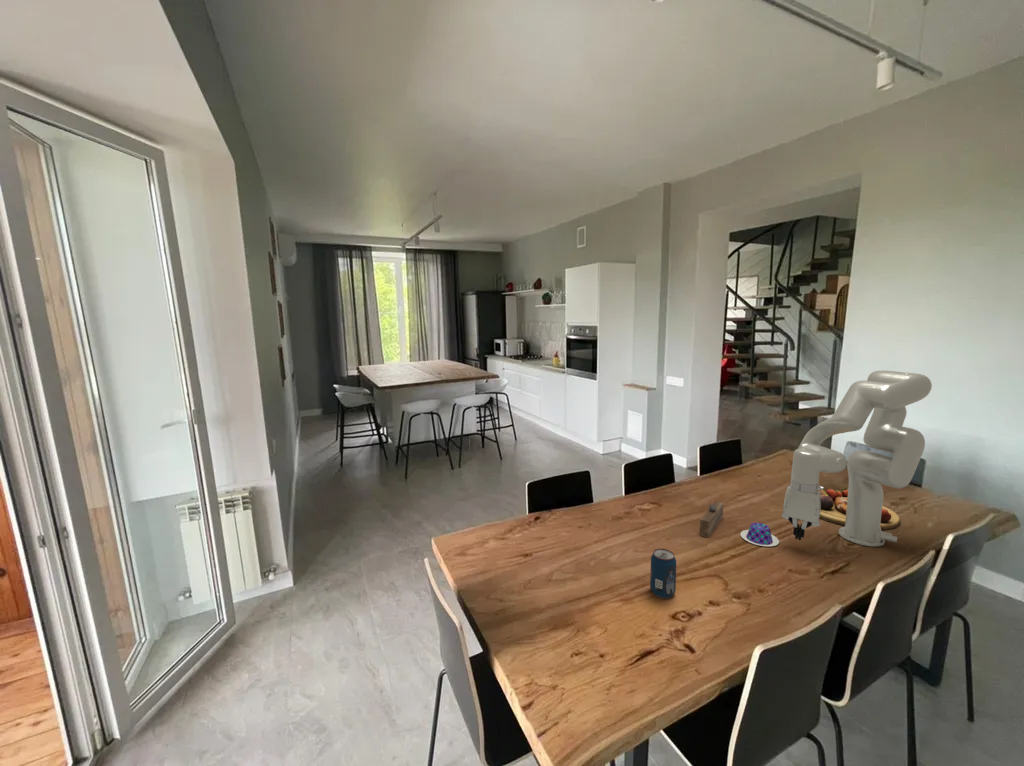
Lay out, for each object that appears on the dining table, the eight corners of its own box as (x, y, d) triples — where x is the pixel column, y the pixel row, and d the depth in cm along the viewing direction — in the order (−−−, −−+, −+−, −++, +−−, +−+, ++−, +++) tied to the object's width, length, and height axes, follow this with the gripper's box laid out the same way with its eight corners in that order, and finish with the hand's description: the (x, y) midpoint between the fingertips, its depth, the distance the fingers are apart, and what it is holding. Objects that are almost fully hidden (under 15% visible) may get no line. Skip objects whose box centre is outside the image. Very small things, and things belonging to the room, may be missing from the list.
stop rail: (722, 517, 169) (723, 498, 168) (708, 537, 154) (709, 516, 153) (714, 515, 171) (715, 496, 170) (699, 535, 156) (700, 514, 155)
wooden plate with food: (924, 531, 155) (926, 510, 154) (834, 531, 156) (836, 509, 156) (856, 497, 187) (858, 479, 186) (782, 497, 188) (783, 479, 187)
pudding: (760, 551, 145) (761, 536, 144) (732, 534, 156) (733, 521, 155) (787, 544, 148) (788, 530, 148) (757, 529, 160) (758, 516, 159)
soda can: (655, 582, 128) (656, 545, 127) (678, 590, 124) (680, 552, 122) (646, 593, 123) (647, 555, 121) (670, 603, 119) (671, 563, 117)
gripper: (832, 488, 140) (826, 541, 142) (779, 477, 149) (774, 527, 151) (831, 495, 134) (824, 550, 136) (775, 483, 143) (770, 535, 146)
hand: (798, 538), depth 144 cm, fingers closed
